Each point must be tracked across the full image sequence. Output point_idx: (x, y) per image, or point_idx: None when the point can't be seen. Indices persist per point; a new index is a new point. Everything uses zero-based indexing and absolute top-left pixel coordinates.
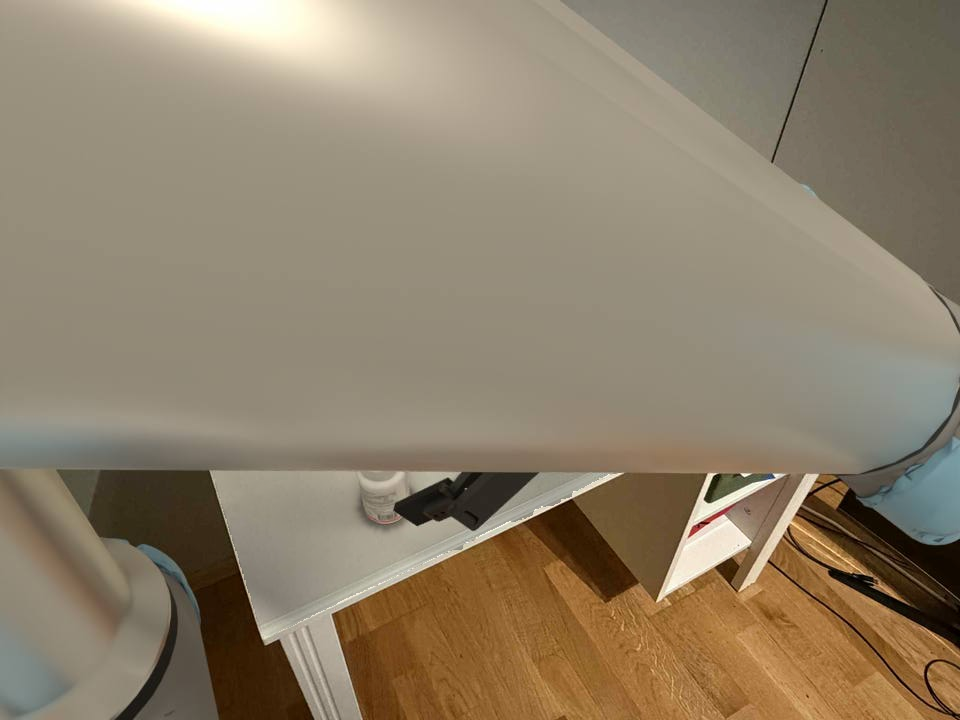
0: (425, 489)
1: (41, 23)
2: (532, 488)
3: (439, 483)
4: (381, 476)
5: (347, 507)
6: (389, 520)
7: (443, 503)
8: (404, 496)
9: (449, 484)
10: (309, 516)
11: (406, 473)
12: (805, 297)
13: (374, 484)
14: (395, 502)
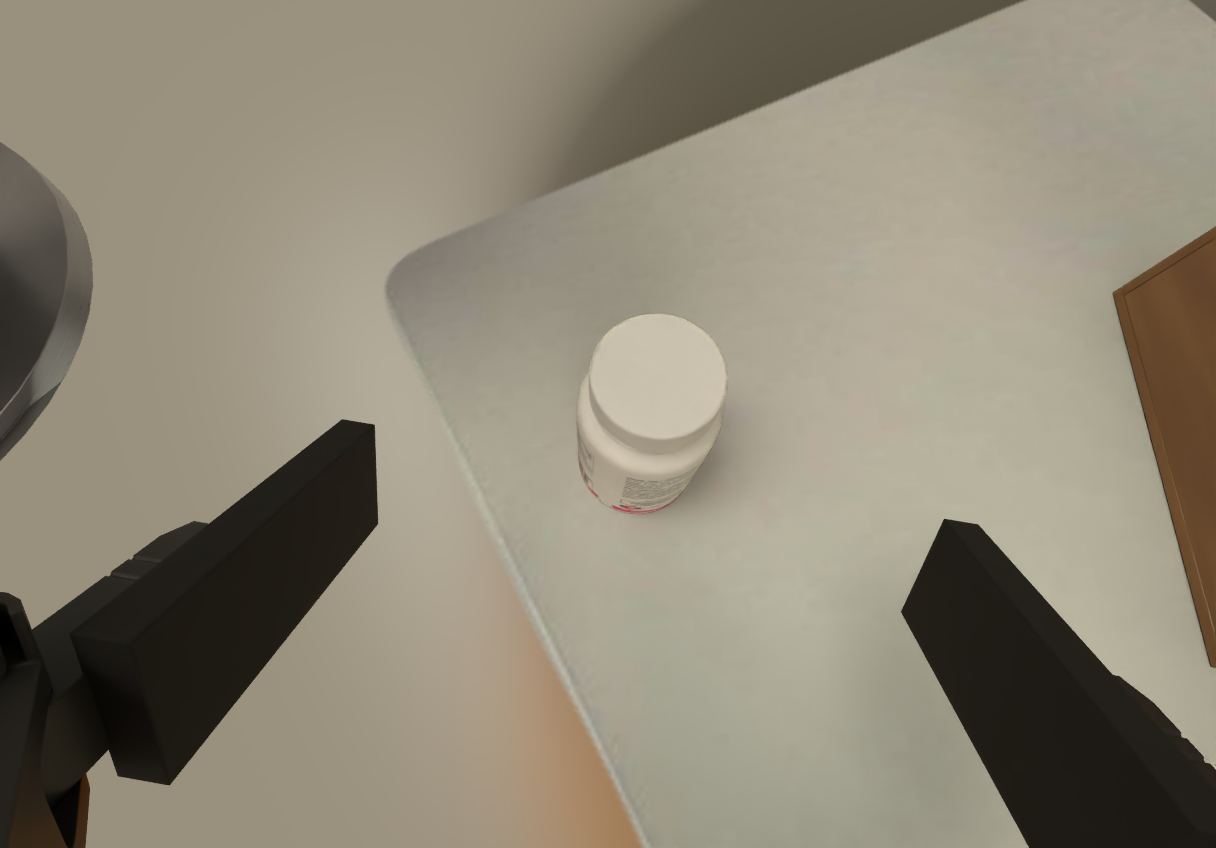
0: (258, 521)
1: None
2: None
3: (166, 591)
4: (590, 397)
5: None
6: (579, 465)
7: (58, 620)
8: (614, 490)
9: (100, 656)
10: (602, 301)
11: (656, 483)
12: None
13: (587, 389)
14: (588, 467)
